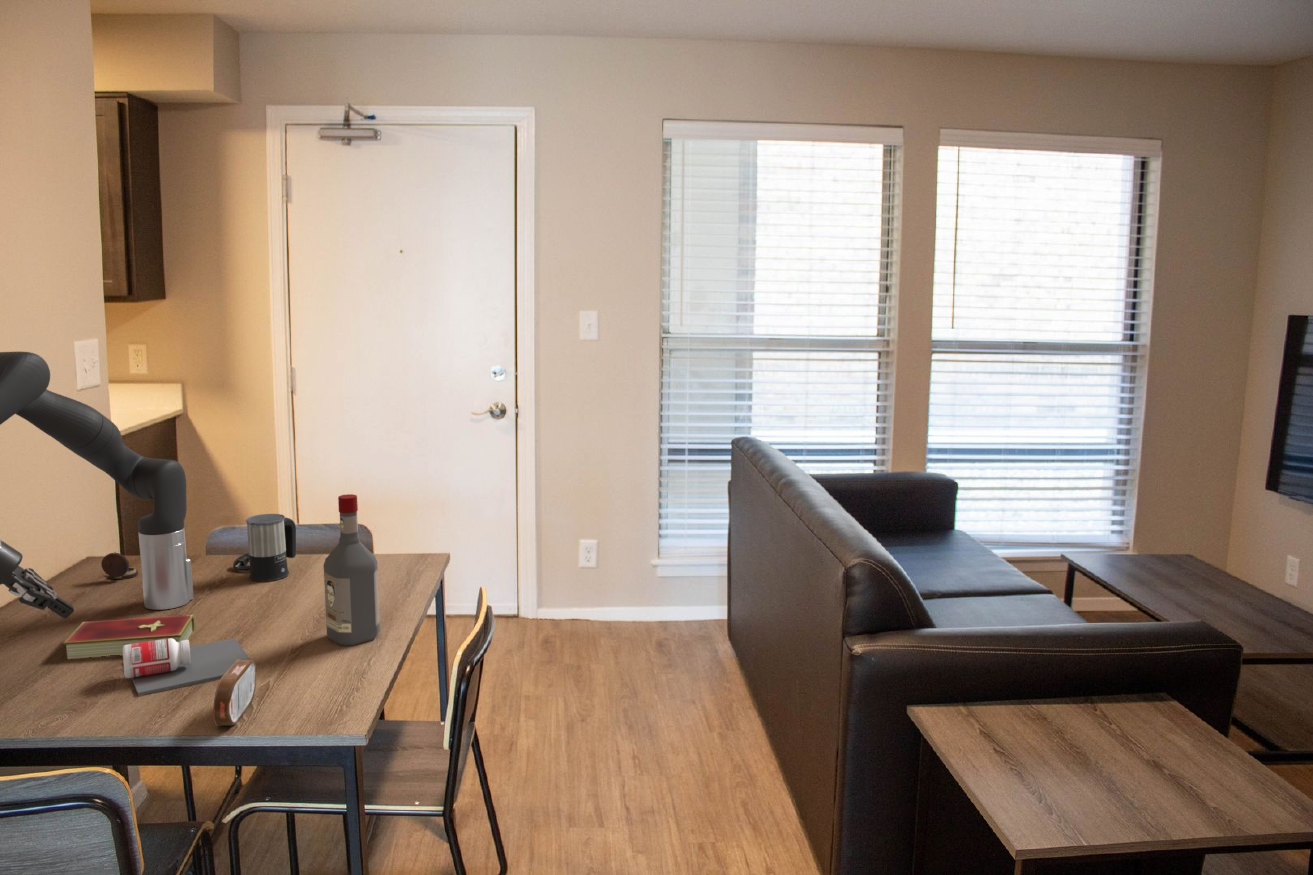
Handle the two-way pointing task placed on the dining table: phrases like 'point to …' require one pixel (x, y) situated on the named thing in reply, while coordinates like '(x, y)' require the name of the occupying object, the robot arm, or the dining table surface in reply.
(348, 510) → the liquor
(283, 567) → the milk frother
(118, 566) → the compass
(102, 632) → the hardcover book
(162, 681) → the mat
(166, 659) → the pill bottle
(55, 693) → the dining table surface
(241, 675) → the tin
